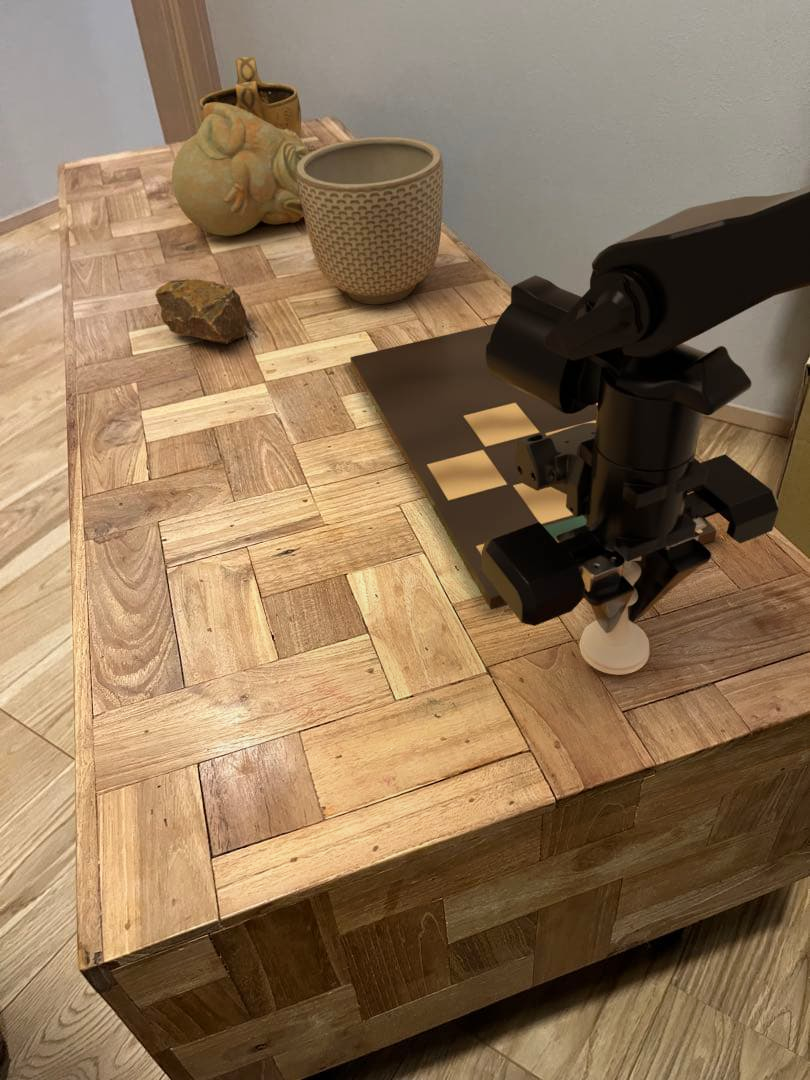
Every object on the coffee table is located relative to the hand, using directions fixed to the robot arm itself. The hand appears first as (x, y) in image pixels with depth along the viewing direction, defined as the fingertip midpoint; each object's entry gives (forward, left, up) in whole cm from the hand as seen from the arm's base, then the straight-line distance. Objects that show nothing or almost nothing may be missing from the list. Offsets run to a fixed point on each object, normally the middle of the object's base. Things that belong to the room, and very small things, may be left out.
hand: (617, 622), depth 58 cm
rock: (+62, -19, -4) cm, 65 cm away
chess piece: (0, 0, -3) cm, 3 cm away
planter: (+51, -39, -4) cm, 64 cm away
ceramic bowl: (+101, -69, -4) cm, 122 cm away
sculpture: (+81, -47, -4) cm, 94 cm away
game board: (+20, -19, -3) cm, 28 cm away
